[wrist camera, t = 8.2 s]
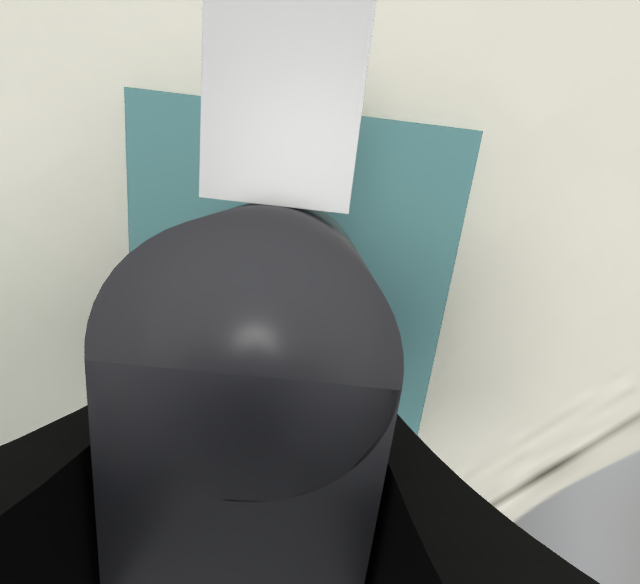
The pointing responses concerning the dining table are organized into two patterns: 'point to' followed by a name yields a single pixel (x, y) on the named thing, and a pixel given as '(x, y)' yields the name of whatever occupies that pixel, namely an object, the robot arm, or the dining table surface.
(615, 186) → the dining table surface
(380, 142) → the charging mat
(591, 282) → the dining table surface
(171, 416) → the cylinder
